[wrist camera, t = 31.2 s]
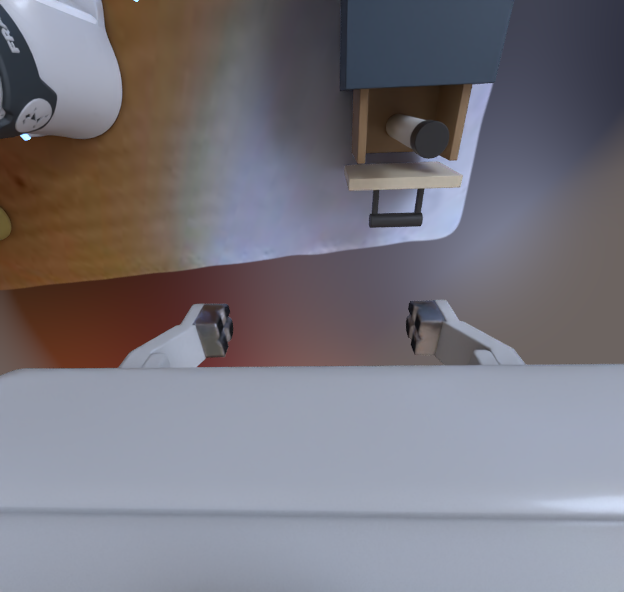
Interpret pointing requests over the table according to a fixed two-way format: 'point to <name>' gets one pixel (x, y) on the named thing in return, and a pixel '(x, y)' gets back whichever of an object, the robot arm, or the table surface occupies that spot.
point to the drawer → (374, 139)
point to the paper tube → (4, 225)
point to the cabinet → (421, 42)
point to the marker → (419, 134)
